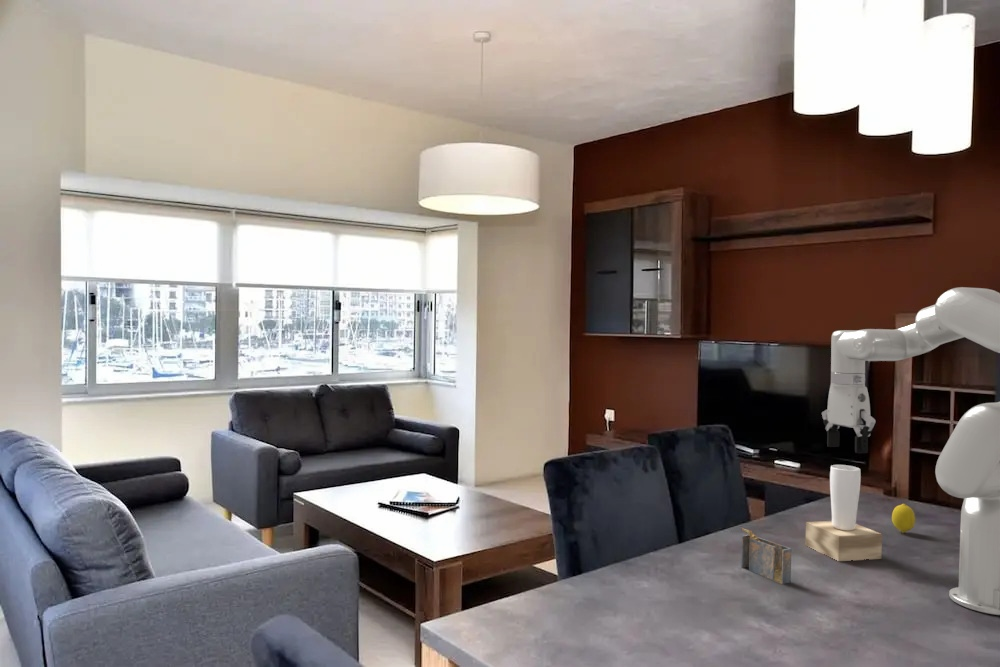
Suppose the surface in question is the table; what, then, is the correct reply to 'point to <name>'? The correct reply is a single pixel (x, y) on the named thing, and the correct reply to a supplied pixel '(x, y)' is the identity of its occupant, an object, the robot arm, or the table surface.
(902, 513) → the lemon
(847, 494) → the drinking glass
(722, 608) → the table surface
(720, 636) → the table surface
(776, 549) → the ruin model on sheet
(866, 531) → the wooden block
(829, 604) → the table surface
